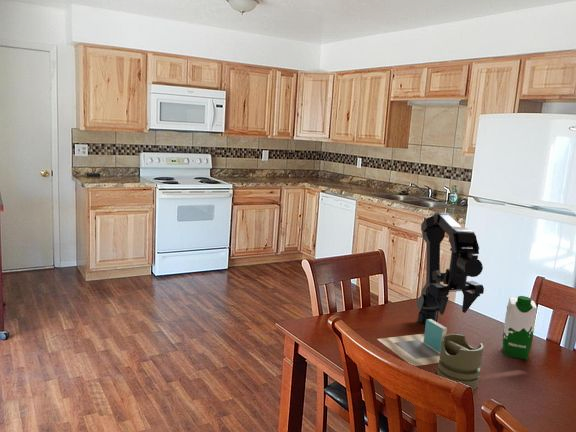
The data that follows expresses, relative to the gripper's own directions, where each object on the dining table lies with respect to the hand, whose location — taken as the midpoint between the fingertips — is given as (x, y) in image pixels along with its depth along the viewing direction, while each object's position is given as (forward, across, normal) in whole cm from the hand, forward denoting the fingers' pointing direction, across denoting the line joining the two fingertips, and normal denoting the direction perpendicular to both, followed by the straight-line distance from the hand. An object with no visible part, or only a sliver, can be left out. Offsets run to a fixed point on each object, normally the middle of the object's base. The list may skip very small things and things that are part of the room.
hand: (452, 313), depth 166 cm
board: (+12, +11, 0) cm, 16 cm away
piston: (+12, +13, +19) cm, 26 cm away
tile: (+11, +6, 0) cm, 13 cm away
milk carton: (+12, -20, +9) cm, 25 cm away
